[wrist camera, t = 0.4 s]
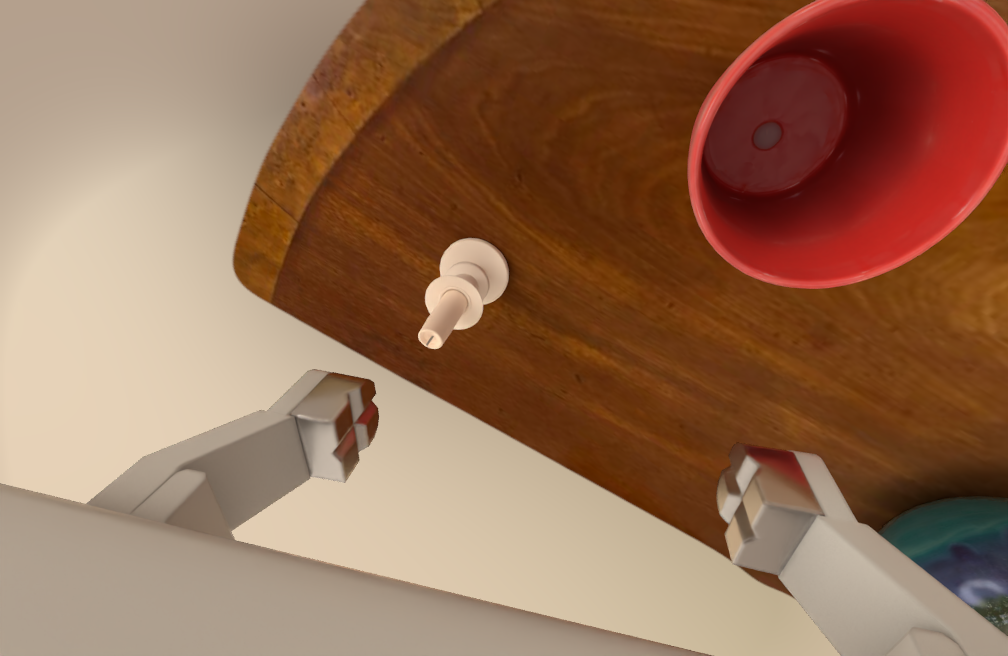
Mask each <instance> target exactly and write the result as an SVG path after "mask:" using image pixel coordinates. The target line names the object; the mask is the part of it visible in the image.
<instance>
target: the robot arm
mask: <svg viewBox="0 0 1008 656" xmlns="http://www.w3.org/2000/svg"><path fill="white" fill-rule="evenodd" d="M375 394H376V391H375V385H374V382H373V381H371V380H369V379H364V378H359V377H354V376H349V375H344V374H338V373H334V372H333V373H331V372H326V371H321V370H316V369H313V370H310V371H307V372H306V373H305V374H304V375H303V376H302V377H301V378H300V379H299V380H298V381H297V382H296V383H295V384H294V385H293V386H292V387H291V388H290V389H289V390H288V391H287V392H286V393H285V394H284V395H283V396H282V397H281V398H279V399H278V400H277V402H275V403H274V404H273V405H272V406H271V407H270V408H269V409H268V410H267V411H264V410H259V411H257V412H254V413H252V414H249V415H247V416H244V417H242V418H239V419H237V420H234V421H232V422H229V423H227V424H224V425H222V426H219V427H217V428H214V429H212V430H209V431H207V432H204V433H202V434H199V435H197V436H194V437H192V438H189V439H187V440H184V441H182V442H179V443H177V444H174V445H172V446H169V447H167V448H164V449H162V450H159V451H157V452H154V453H152V454H149V455H147V456H144V457H143V458H141V459H140V460H139V461H138V462H137V463H135V464H134V465H133V466H132V467H130V468H129V469H128V470H127V471H125V472H124V473H123V474H122V475H121V476H119V477H118V478H117V479H116V480H114V481H113V482H112V483H111V484H110V485H108V486H107V487H106V488H105V489H104V490H102V491H101V492H100V493H99V494H97V495H96V496H95V497H94V498H93V499H91V500H90V501H89V502H88V503H87V504H83V503H79V502H75V501H71V500H67V499H63V498H58V497H54V496H50V495H46V494H42V493H38V492H33V491H29V490H25V489H21V488H17V487H13V486H9V485H5V484H1V483H0V656H711V655H708V654H704V653H699V652H695V651H691V650H687V649H683V648H679V647H674V646H670V645H666V644H662V643H658V642H653V641H650V640H645V639H641V638H637V637H633V636H629V635H625V634H621V633H616V632H612V631H608V630H604V629H600V628H596V627H592V626H587V625H583V624H579V623H575V622H571V621H567V620H562V619H558V618H554V617H550V616H546V615H541V614H537V613H533V612H529V611H525V610H521V609H517V608H513V607H509V606H504V605H500V604H496V603H492V602H488V601H483V600H480V599H476V598H471V597H467V596H463V595H459V594H455V593H451V592H447V591H442V590H438V589H434V588H430V587H426V586H422V585H418V584H414V583H410V582H405V581H401V580H397V579H393V578H389V577H385V576H380V575H377V574H372V573H368V572H364V571H360V570H356V569H352V568H348V567H344V566H339V565H335V564H331V563H327V562H323V561H319V560H315V559H310V558H306V557H301V556H298V555H294V554H289V553H286V552H281V551H277V550H273V549H269V548H265V547H261V546H256V545H253V544H248V543H244V542H240V541H236V540H235V539H234V536H233V534H232V532H231V531H232V530H234V529H235V528H236V527H238V526H239V525H241V524H242V523H244V522H246V521H247V520H249V519H250V518H252V517H253V516H254V515H256V514H258V513H259V512H261V511H262V510H263V509H265V508H267V507H268V506H270V505H271V504H273V503H274V502H275V501H277V500H278V499H280V498H282V497H283V496H285V495H286V494H288V493H289V492H291V491H292V490H294V489H295V488H297V487H298V486H300V485H301V484H302V483H304V482H306V481H307V480H309V479H310V476H311V477H317V478H322V479H328V480H333V481H339V482H344V483H345V482H346V480H347V479H348V477H349V476H350V474H351V473H352V471H353V470H354V468H355V467H356V465H357V464H358V462H359V455H358V452H359V451H361V450H363V449H365V448H366V447H368V446H369V445H370V443H371V442H372V440H373V438H374V436H375V433H376V430H377V427H378V420H379V413H378V408H377V406H376V405H375V404H374V403H373V402H372V399H373V397H374V396H375ZM729 458H730V461H731V466H729V467H727V468H725V469H724V470H722V472H721V475H720V478H719V480H718V486H717V505H718V509H719V513H720V516H721V517H722V518H723V519H724V520H725V521H726V522H727V523H728V524H729V526H728V528H727V530H726V532H725V537H726V541H727V545H728V548H729V552H730V556H731V560H732V564H734V565H738V566H742V567H746V568H751V569H755V570H759V571H763V572H768V573H772V574H776V575H779V577H778V578H779V579H780V580H781V581H782V583H783V584H784V585H785V586H786V588H787V589H788V590H789V591H790V593H791V594H792V595H793V596H794V598H795V599H796V600H797V601H798V603H799V604H800V605H801V606H802V608H803V609H804V610H805V611H806V613H807V614H808V615H809V616H810V618H811V619H812V620H813V621H814V623H815V624H816V625H817V626H818V628H819V629H820V630H821V631H822V633H823V634H824V635H825V636H826V638H827V639H828V640H829V641H830V643H831V644H832V645H833V647H834V648H835V649H836V650H837V652H838V653H839V654H840V655H841V656H1008V636H1006V635H1005V634H1004V633H1003V632H1001V631H1000V630H999V629H998V628H996V627H995V626H994V625H993V624H991V623H990V622H989V621H988V620H986V619H985V618H984V617H983V616H981V615H980V614H979V613H978V612H976V611H975V610H974V609H972V608H971V607H970V606H969V605H967V604H966V603H965V602H964V601H962V600H961V599H960V598H959V597H957V596H956V595H955V594H954V593H952V592H951V591H950V590H949V589H947V588H946V587H945V586H944V585H942V584H941V583H940V582H939V581H937V580H936V579H935V578H934V577H932V576H931V575H930V574H928V573H927V572H926V571H925V570H923V569H922V568H921V567H920V566H918V565H917V564H916V563H915V562H913V561H912V560H911V559H910V558H908V557H907V556H906V555H905V554H903V553H902V552H901V551H900V550H898V549H897V548H896V547H895V546H893V545H892V544H891V543H889V542H888V541H887V540H886V539H884V538H883V537H882V536H881V535H879V534H878V533H877V532H876V531H874V530H873V529H872V528H871V527H869V526H868V525H866V524H861V523H858V522H857V520H856V518H855V516H854V515H853V513H852V511H851V509H850V508H849V506H848V504H847V502H846V500H845V499H844V497H843V495H842V493H841V492H840V490H839V488H838V486H837V485H836V483H835V481H834V479H833V478H832V476H831V474H830V472H829V470H828V469H827V467H826V465H825V463H824V462H823V460H822V459H821V458H820V457H819V456H818V455H816V454H811V453H804V452H797V451H791V450H789V451H787V450H782V449H776V448H769V447H763V446H757V445H751V444H745V443H739V442H737V443H736V444H735V445H734V446H733V447H732V449H731V451H730V454H729Z"/></svg>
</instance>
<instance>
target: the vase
mask: <svg viewBox="0 0 1008 656" xmlns="http://www.w3.org/2000/svg"><path fill="white" fill-rule="evenodd" d="M878 534H879V535H881V536H882V537H883V538H884V539H886V540H887V541H888V542H889V543H891V544H892V545H893V546H895V547H896V548H897V549H898V550H900V551H901V552H902V553H903V554H905V555H906V556H907V557H908V558H910V559H911V560H912V561H913V562H915V563H916V564H917V565H918V566H920V567H921V568H922V569H923V570H925V571H926V572H927V573H928V574H930V575H931V576H932V577H934V578H935V579H936V580H937V581H939V582H940V583H941V584H942V585H944V586H945V587H946V588H947V589H949V590H950V591H951V592H952V593H954V594H955V595H956V596H957V597H959V598H960V599H961V600H962V601H964V602H965V603H966V604H967V605H969V606H970V607H971V608H972V609H974V610H975V611H976V612H978V613H979V614H980V615H981V616H983V617H984V618H985V619H986V620H988V621H989V622H990V623H991V624H993V625H994V626H995V627H996V628H998V629H999V630H1000V631H1001V632H1003V633H1004V634H1005V635H1006V636H1008V498H1001V497H990V496H965V497H952V498H946V499H940V500H936V501H932V502H928V503H924V504H922V505H919V506H916V507H913V508H911V509H909V510H907V511H905V512H903V513H901V514H900V515H898V516H896V517H895V518H893V519H892V520H890V521H889V522H888V523H887V524H886V525H884V526H883V528H882V529H881V530H880V531H879V532H878Z"/></svg>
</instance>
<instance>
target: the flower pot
mask: <svg viewBox="0 0 1008 656" xmlns="http://www.w3.org/2000/svg"><path fill="white" fill-rule="evenodd" d="M1007 162H1008V25H1007V24H1006V23H1005V21H1004V20H1003V19H1002V18H1001V17H1000V15H999V14H998V13H997V12H996V11H995V10H994V9H993V8H992V7H991V6H989V5H988V4H987V3H986V2H984V1H983V0H817V1H814V2H812V3H810V4H808V5H807V6H805V7H803V8H801V9H799V10H797V11H796V12H794V13H792V14H791V15H789V16H788V17H786V18H785V19H783V20H782V21H780V22H779V23H777V24H776V25H774V26H773V27H772V28H770V29H769V30H768V31H766V32H765V33H764V34H763V35H761V36H760V37H759V38H758V39H757V40H756V41H754V42H753V43H752V44H751V45H750V46H749V47H748V48H747V49H746V50H745V51H743V52H742V53H741V54H740V55H739V56H738V57H737V59H736V60H735V61H734V62H733V63H732V64H731V65H730V66H729V67H728V68H727V70H726V71H725V72H724V73H723V74H722V76H721V77H720V78H719V79H718V81H717V82H716V83H715V84H714V86H713V87H712V89H711V90H710V92H709V93H708V95H707V97H706V98H705V100H704V102H703V104H702V106H701V108H700V110H699V113H698V115H697V118H696V121H695V124H694V127H693V131H692V136H691V142H690V147H689V156H688V186H689V194H690V199H691V204H692V208H693V211H694V214H695V217H696V219H697V222H698V224H699V227H700V228H701V230H702V232H703V234H704V236H705V237H706V239H707V240H708V242H709V243H710V244H711V246H712V247H713V248H714V249H715V250H716V252H717V253H718V254H719V255H720V256H722V257H723V258H724V259H725V260H726V261H727V262H729V263H730V264H731V265H732V266H734V267H735V268H737V269H738V270H740V271H741V272H743V273H745V274H747V275H749V276H751V277H754V278H756V279H759V280H761V281H764V282H767V283H771V284H775V285H780V286H785V287H792V288H808V289H820V288H832V287H838V286H844V285H849V284H853V283H857V282H860V281H863V280H867V279H870V278H873V277H875V276H878V275H881V274H883V273H886V272H888V271H890V270H892V269H895V268H897V267H899V266H901V265H903V264H905V263H906V262H908V261H910V260H912V259H913V258H915V257H917V256H918V255H920V254H922V253H923V252H925V251H926V250H928V249H929V248H931V247H932V246H933V245H935V244H936V243H937V242H939V241H940V240H942V239H943V238H944V237H946V236H947V235H948V234H949V233H950V232H951V231H953V230H954V229H955V228H956V227H957V226H958V225H959V224H960V223H962V222H963V221H964V220H965V219H966V218H967V217H968V216H969V215H970V214H971V212H972V211H973V210H974V209H975V208H976V207H977V206H978V205H979V204H980V202H981V201H982V200H983V199H984V197H985V196H986V194H987V193H988V192H989V190H990V189H991V188H992V186H993V185H994V183H995V182H996V180H997V179H998V177H999V176H1000V174H1001V173H1002V171H1003V169H1004V167H1005V166H1006V164H1007Z"/></svg>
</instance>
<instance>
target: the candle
mask: <svg viewBox="0 0 1008 656" xmlns="http://www.w3.org/2000/svg"><path fill="white" fill-rule="evenodd" d="M440 275H441V277H439V278H437V279H435V280H434V281H433V282H432V283H431V284H430V285H429V287H428V289H427V290H426V295H425V301H426V306H427V309H428V311H429V313H430V316H429V317H428V319H427V320H426V322H425V324H424V325H423V327H422V329H421V330H420V332H419V333H418V337H419V340H420V342H421V343H422V344H423V345H425V346H426V347H429V348H432V349H438V348H440V347H441V346H442V345H443V343H444V342H445V340H446V339H447V337H448V336H449V335H450V333H451V332H452V330H453V329H458V330H460V329H467V328H469V327H471V326H473V325H474V324H475V323H477V322H478V320H479V319H480V317H481V316H482V312H483V304H488V303H491V302H493V301H495V300H496V299H497V298H499V297H500V296H501V295H502V293H503V292H504V290H505V289H506V287H507V283H508V280H509V269H508V265H507V261H506V260H505V258H504V256H503V254H502V253H501V252H500V251H499V250H498V249H497V248H496V247H495V246H494V245H492V244H490V243H489V242H487V241H484V240H481V239H478V238H466V239H461V240H459V241H457V242H455V243H453V244H452V245H451V246H450V247H449V248H448V249H447V250H446V251H445V253H444V255H443V256H442V258H441V263H440Z"/></svg>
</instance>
